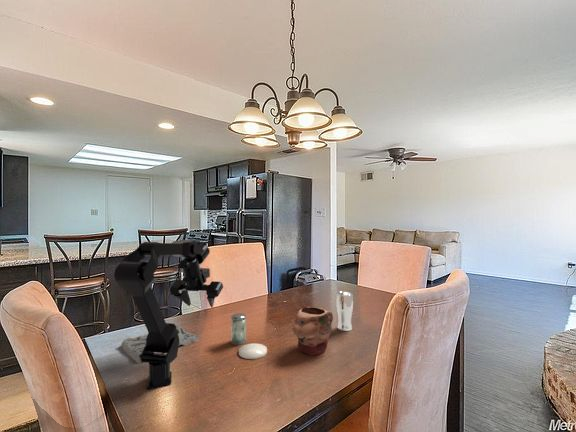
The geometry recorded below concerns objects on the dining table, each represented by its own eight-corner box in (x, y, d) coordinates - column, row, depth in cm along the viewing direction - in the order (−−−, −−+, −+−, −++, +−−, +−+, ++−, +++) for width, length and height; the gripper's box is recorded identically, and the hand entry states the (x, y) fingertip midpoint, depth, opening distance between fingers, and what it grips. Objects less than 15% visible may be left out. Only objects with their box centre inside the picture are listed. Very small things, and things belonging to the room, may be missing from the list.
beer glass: (356, 328, 123) (356, 293, 123) (347, 333, 118) (347, 296, 118) (342, 323, 128) (342, 290, 128) (333, 328, 123) (333, 293, 122)
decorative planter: (317, 334, 117) (317, 300, 116) (343, 343, 108) (343, 306, 108) (284, 351, 102) (284, 312, 102) (311, 363, 94) (311, 321, 94)
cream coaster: (270, 355, 99) (270, 353, 99) (242, 361, 95) (242, 359, 95) (262, 343, 108) (262, 341, 108) (236, 348, 104) (236, 346, 104)
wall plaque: (139, 366, 93) (139, 354, 93) (119, 348, 106) (119, 337, 106) (203, 342, 110) (203, 332, 110) (179, 329, 123) (179, 320, 123)
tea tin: (247, 343, 108) (247, 317, 108) (232, 346, 106) (232, 319, 106) (244, 337, 113) (244, 312, 113) (229, 340, 111) (229, 314, 111)
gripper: (224, 260, 107) (231, 293, 114) (179, 258, 111) (188, 290, 117) (213, 278, 98) (221, 313, 104) (163, 276, 101) (174, 310, 107)
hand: (200, 305), depth 108 cm, fingers open, 9 cm apart
